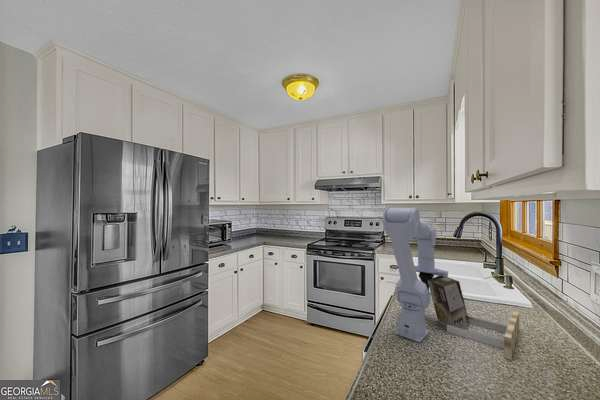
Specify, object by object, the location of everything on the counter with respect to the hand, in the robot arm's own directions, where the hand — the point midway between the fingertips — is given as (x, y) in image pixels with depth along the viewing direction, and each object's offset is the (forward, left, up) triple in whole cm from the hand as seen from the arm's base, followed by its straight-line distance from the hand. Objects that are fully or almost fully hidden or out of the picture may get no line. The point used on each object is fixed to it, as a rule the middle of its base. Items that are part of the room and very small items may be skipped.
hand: (426, 292), depth 98 cm
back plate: (0, -25, -10) cm, 27 cm away
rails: (0, -17, -10) cm, 19 cm away
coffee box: (0, -9, -9) cm, 13 cm away
